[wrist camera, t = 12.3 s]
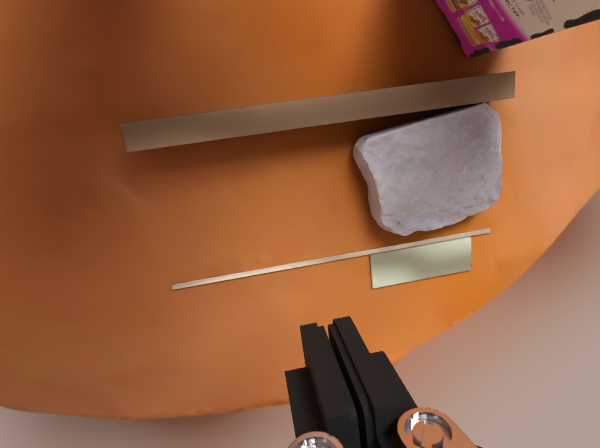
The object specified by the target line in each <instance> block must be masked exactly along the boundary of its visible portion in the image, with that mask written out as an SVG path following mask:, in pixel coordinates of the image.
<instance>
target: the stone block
mask: <svg viewBox="0 0 600 448" xmlns="http://www.w3.org/2000/svg"><path fill="white" fill-rule="evenodd" d="M501 142H502V131H501V122H500V119H499V115H498V113H497V112H496V111H495V110H494V109H493V108H492V107H491V106H490V105H489V104H487V103H486V102H482V103H475V104H468V105H463V106H459V107H456V108H453V109H449V110H446V111H443V112H439V113H436V114H433V115H430V116H426V117H423V118H419V119H416V120H413V121H410V122H406V123H403V124H400V125H397V126H394V127H390V128H387V129H383V130H380V131H377V132H373V133H370V134H366V135H364V136H362V137H360V138H359V139H358V140H357V142H356V144H355V145H354V146H353V157H354V160H355V162H356V164H357V165H358V168H359V169H360V171H361V174H362V176H363V178H364V180H365V181H366V183H367V186H368V202H369V205H370V212H371V215H372V217H373V218H374V219H375V220H376V222H377V224H378V225H379V226H380V227H381V228H382V229H384V230H387V231H389V232H392V233H394V234H399V235H402V236H406V235H409V234H411V233H413V232H415V231H420V230H421V231H429V230H435V229H438V228H442V227H443V226H448V225H452V224H455V223H457V222H460V221H462V220H463V219H465V218H466V217H467V216H473V215H475V214H477V213H479V212H481V211H483V210H485V209H487V208H490V207H492V206H493V205H494V204H495V203H496V202H497V201H498V198H499V196H500V193H501V189H502V187H501V178H502V162H503V160H502V156H501V149H500V148H501Z"/></svg>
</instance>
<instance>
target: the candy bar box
mask: <svg viewBox="0 0 600 448" xmlns="http://www.w3.org/2000/svg"><path fill="white" fill-rule="evenodd" d="M435 1H436V3H437V5H438V7H439V8H440V10H441V12H442V14H443V15H444V17H445V19H446V21H447V23H448V24H449V26H450V28H451V30H452V32H453V33H454V35H455V37H456V39H457V40H458V42H459V44H460V46H461V47H462V49H463V51H464V53H465V55H466V56H467V58H472V57H475V56H479V55H483V54H486V53H489V52H492V51H496V50H499V49H502V48H506V47H509V46H512V45H515V44H518V43H522V42H526V41H529V40H532V39H534V38H538V37H541V36H544V35H547V34H551V33H555V32H558V31H562V30H565V29H568V28H571V27H575V26H578V25H581V24H585V23H588V22H592V21H595V20H599V19H600V0H435Z"/></svg>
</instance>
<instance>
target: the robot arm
mask: <svg viewBox="0 0 600 448" xmlns="http://www.w3.org/2000/svg"><path fill="white" fill-rule="evenodd" d="M300 331H301V338H302V345H303V352H304V358H305V365H306V367H304V368H299V369H294V370H289V371H285V376H286V382H287V388H288V394H289V400H290V406H291V411H292V418H293V424H294V430H295V436H296V439H295V440H294V441H293V442H292V443H291V444H290V446H289V447H288V448H481V447H479V446H476V445H475V444H474V443H473V442H472V441H471V440H470V439H469V438H468V437H467V435H466V434H465V433H464V432H463V431H462V430H461V429H460V428H459V427H458V426H457V425H456V424H455V422H454V421H453V420H452V419H451V418H449V417H448V416H447V415H446V414H444V413H442V412H440V411H438V410H435V409H431V408H421V407H420V408H418V407H417V405H416V404H415V403H414V400H413V399H412V397H411V396H410V394H409V392H408V391H407V389H406V387H405V386H404V384H403V382H402V381H401V379H400V377H399V376H398V374H397V372H396V371H395V369H394V367H393V366H392V364H391V362H390V361H389V359H388V357H387V356H386V354H385V353H384V352H383V351H380V352H375V353H371V354H370V353H369V351H368V349H367V347H366V345H365V343H364V341H363V340H362V338H361V336H360V334H359V332H358V330H357V329H356V327H355V325H354V323H353V321H352V319H351V318H350V316H347V317H342V318H337V319H333V324H330V325H328V333H329V339H328V336H327V334H326V331H325V329H324V326H320V327H318V326H317V323H312V324H307V325H302V326H300Z"/></svg>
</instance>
